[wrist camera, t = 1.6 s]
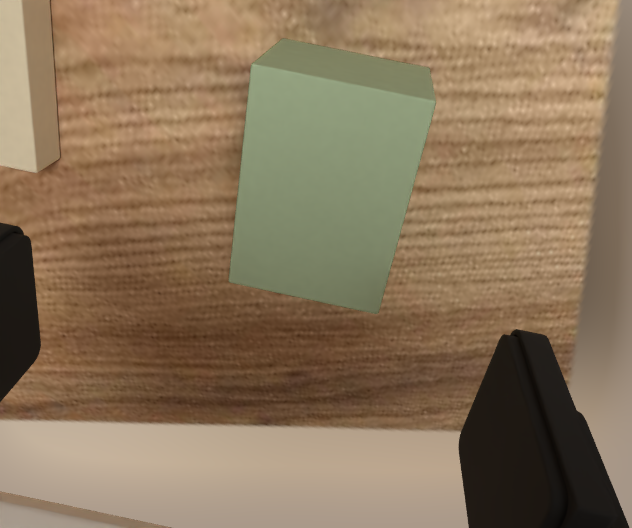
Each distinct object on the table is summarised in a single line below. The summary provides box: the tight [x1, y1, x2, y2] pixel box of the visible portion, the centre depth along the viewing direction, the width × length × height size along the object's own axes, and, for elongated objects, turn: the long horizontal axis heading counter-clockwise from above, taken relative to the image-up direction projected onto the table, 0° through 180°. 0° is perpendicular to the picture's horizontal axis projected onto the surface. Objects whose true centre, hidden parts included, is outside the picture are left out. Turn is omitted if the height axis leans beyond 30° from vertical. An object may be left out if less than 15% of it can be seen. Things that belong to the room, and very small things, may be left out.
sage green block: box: [229, 38, 436, 314], centre depth 19 cm, size 5×7×4 cm
